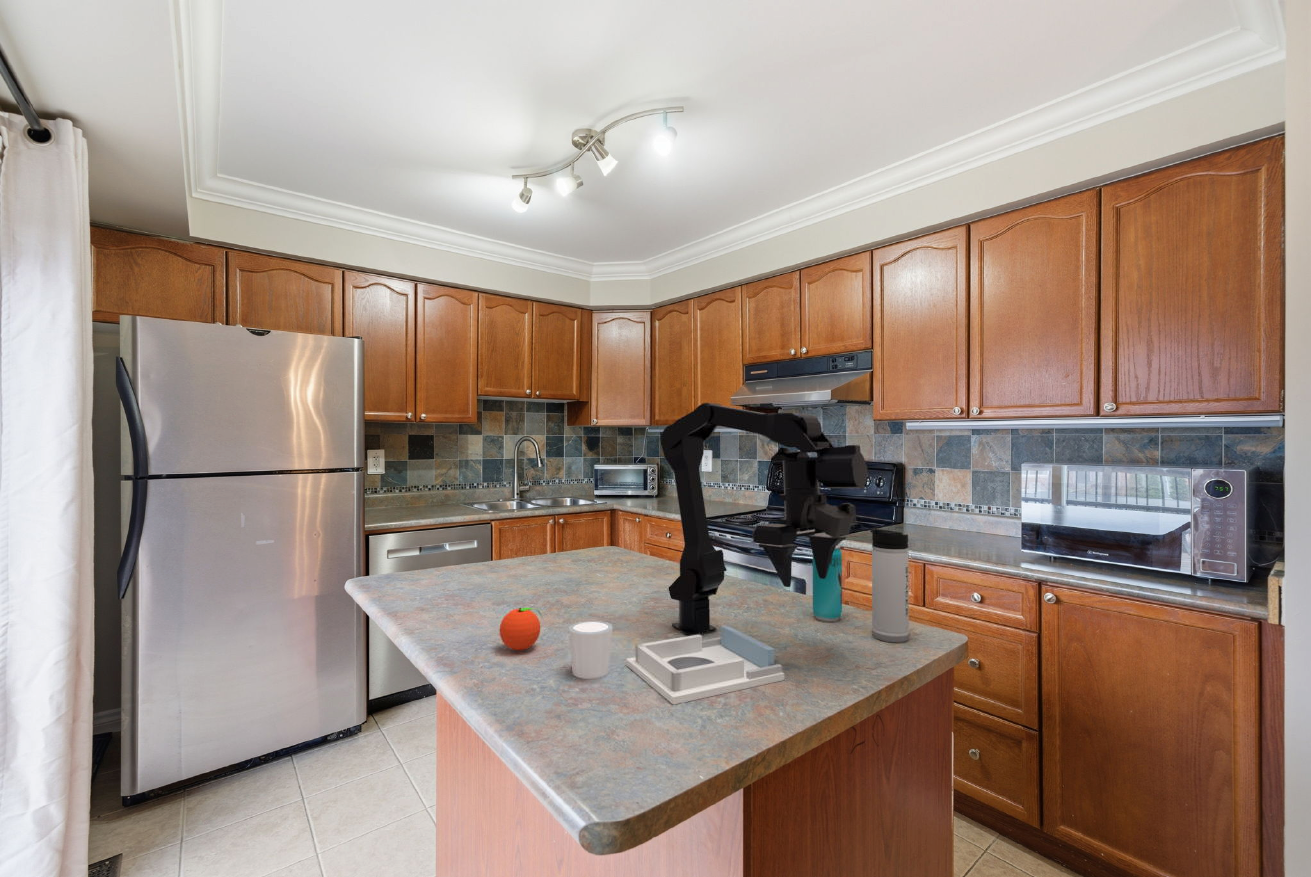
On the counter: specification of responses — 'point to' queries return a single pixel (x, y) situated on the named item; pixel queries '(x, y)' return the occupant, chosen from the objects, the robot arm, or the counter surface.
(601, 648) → the white cup
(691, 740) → the counter surface
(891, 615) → the travel mug
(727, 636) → the gate
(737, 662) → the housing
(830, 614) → the beverage can
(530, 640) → the clementine
